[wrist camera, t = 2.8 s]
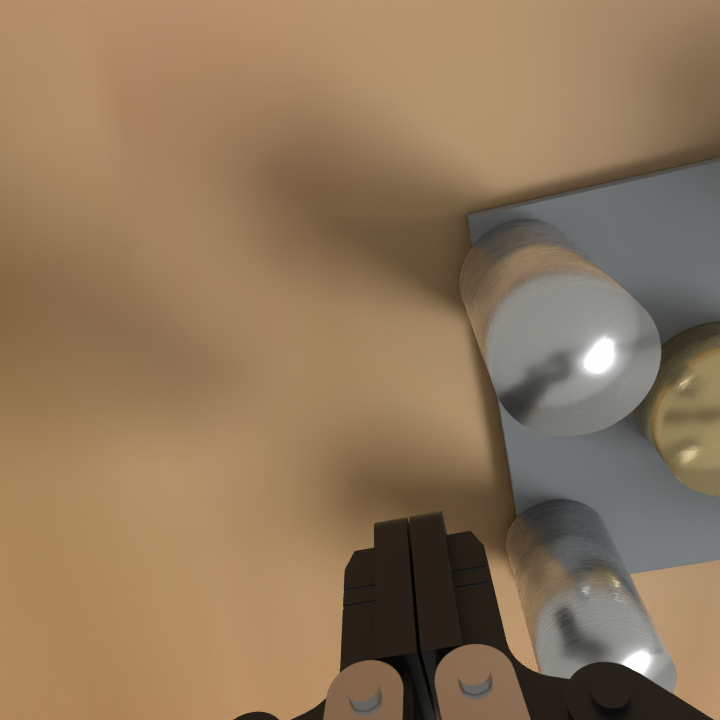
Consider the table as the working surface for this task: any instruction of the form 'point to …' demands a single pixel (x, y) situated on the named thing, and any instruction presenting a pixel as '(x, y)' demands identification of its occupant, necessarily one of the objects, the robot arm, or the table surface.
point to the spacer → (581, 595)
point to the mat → (671, 316)
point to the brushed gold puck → (687, 408)
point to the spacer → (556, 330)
